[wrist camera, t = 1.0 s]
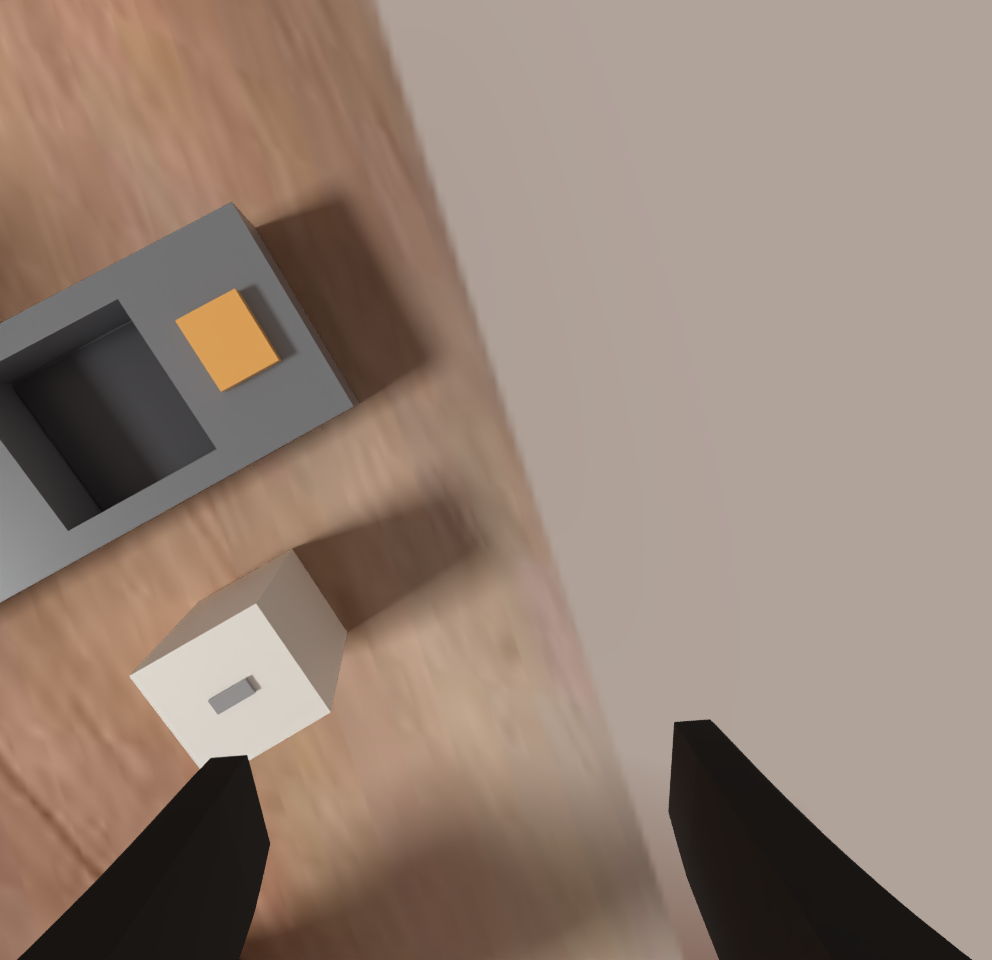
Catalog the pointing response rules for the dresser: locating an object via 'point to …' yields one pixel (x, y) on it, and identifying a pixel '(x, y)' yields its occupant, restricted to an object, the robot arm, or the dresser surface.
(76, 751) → the dresser surface
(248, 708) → the block
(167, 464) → the power strip
